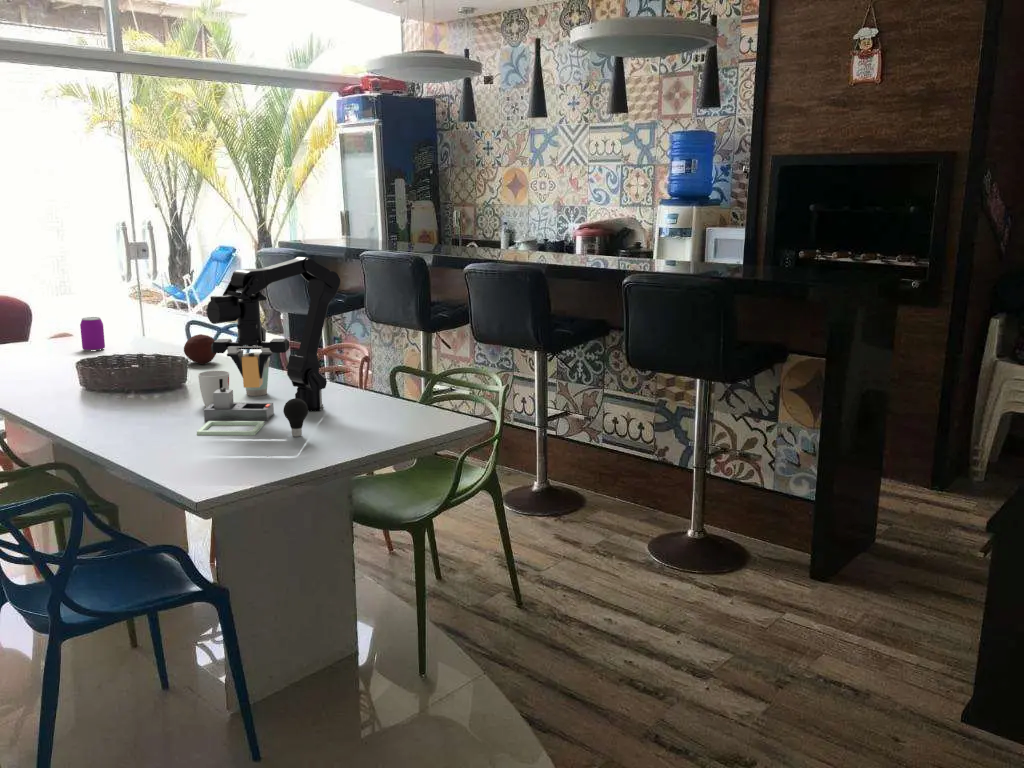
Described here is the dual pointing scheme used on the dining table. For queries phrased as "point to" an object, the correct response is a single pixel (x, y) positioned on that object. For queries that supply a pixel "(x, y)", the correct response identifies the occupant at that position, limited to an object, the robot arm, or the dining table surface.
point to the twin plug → (223, 399)
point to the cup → (212, 384)
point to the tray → (204, 431)
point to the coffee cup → (263, 388)
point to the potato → (199, 349)
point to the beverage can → (92, 333)
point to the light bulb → (296, 415)
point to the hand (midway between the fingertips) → (252, 378)
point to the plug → (251, 370)
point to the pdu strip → (240, 412)
